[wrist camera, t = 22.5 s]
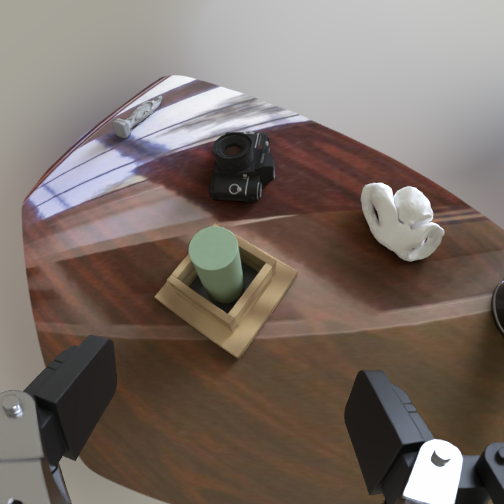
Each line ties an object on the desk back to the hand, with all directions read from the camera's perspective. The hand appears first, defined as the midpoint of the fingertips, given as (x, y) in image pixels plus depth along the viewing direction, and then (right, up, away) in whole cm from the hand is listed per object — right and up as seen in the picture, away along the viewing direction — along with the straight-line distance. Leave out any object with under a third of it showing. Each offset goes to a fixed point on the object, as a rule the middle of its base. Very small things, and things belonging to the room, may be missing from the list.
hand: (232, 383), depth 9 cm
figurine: (-20, +29, +44) cm, 57 cm away
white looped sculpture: (+20, +7, +31) cm, 37 cm away
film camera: (-1, +16, +36) cm, 40 cm away
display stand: (-2, 0, +28) cm, 28 cm away
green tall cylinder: (-3, 0, +26) cm, 26 cm away
